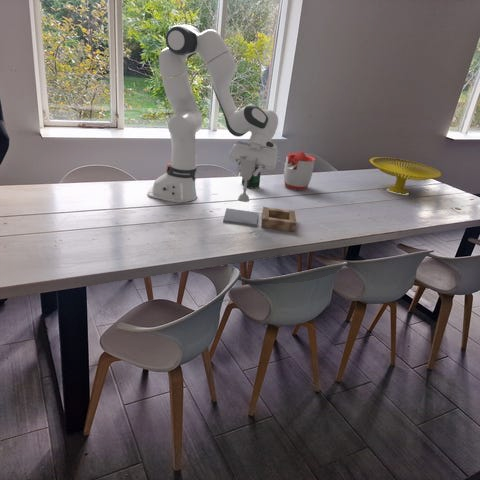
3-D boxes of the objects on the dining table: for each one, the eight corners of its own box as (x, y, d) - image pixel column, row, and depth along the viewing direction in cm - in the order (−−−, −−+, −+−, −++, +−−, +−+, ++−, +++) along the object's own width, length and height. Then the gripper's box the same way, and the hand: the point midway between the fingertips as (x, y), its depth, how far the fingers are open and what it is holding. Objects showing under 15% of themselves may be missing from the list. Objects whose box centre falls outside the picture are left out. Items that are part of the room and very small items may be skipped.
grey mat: (223, 222, 178) (223, 220, 177) (226, 210, 191) (226, 208, 190) (256, 226, 178) (256, 224, 177) (257, 214, 190) (257, 212, 190)
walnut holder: (261, 227, 178) (262, 218, 176) (261, 215, 190) (263, 206, 189) (294, 232, 178) (296, 223, 176) (293, 219, 190) (294, 211, 189)
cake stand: (393, 178, 277) (400, 156, 270) (448, 200, 247) (457, 175, 240) (348, 182, 256) (354, 157, 250) (402, 206, 226) (410, 179, 220)
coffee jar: (261, 188, 225) (266, 153, 217) (249, 189, 221) (253, 154, 213) (251, 182, 232) (256, 148, 225) (239, 183, 228) (243, 149, 220)
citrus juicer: (273, 185, 232) (279, 149, 223) (291, 181, 244) (297, 146, 236) (297, 194, 223) (304, 156, 215) (315, 189, 236) (322, 153, 227)
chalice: (239, 203, 176) (244, 160, 169) (232, 197, 182) (236, 155, 174) (254, 202, 180) (260, 160, 172) (247, 196, 185) (252, 155, 177)
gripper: (234, 136, 180) (221, 163, 176) (279, 145, 173) (268, 174, 169) (237, 145, 185) (225, 171, 181) (281, 154, 179) (270, 182, 175)
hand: (246, 173), depth 175 cm, fingers closed on chalice, 6 cm apart
